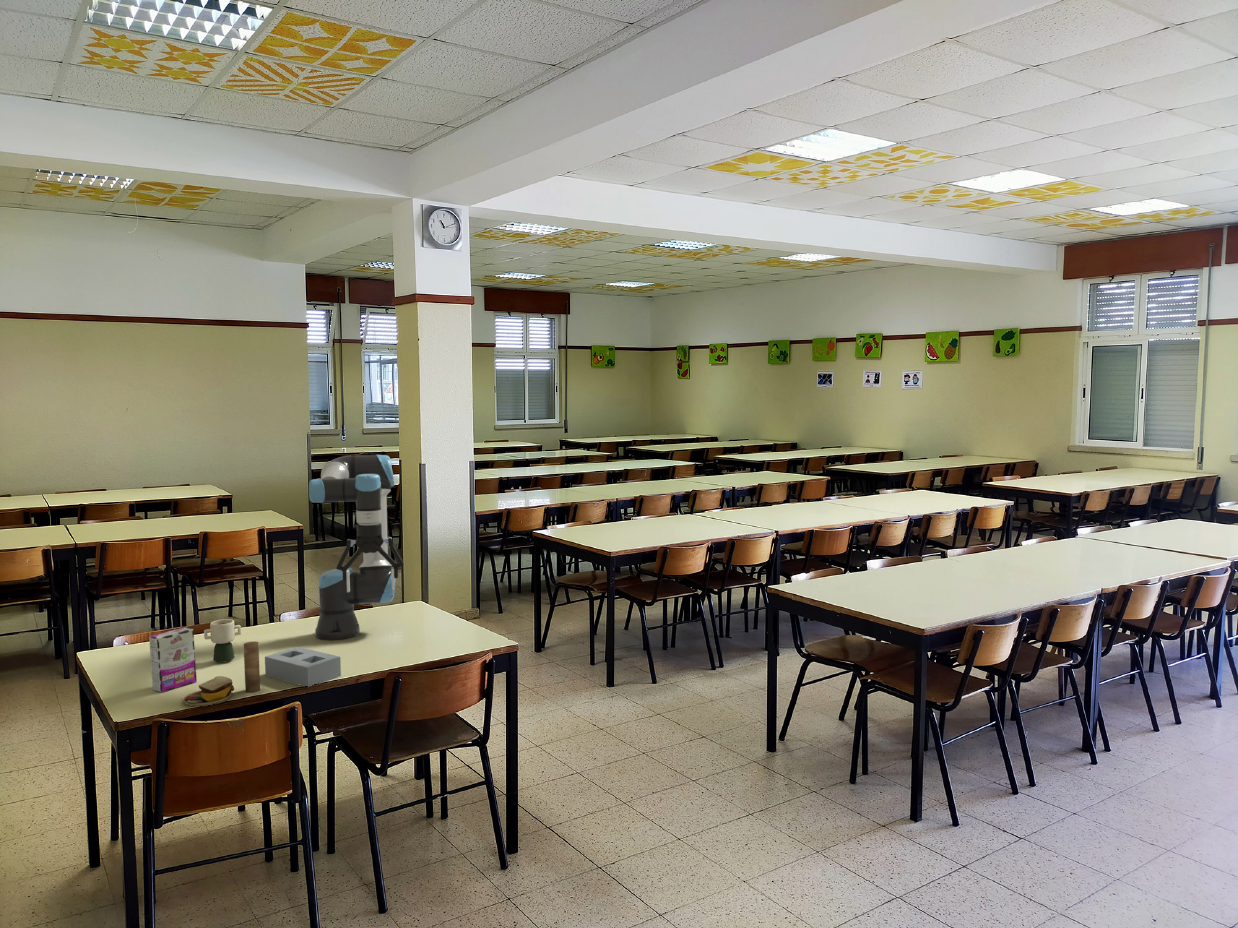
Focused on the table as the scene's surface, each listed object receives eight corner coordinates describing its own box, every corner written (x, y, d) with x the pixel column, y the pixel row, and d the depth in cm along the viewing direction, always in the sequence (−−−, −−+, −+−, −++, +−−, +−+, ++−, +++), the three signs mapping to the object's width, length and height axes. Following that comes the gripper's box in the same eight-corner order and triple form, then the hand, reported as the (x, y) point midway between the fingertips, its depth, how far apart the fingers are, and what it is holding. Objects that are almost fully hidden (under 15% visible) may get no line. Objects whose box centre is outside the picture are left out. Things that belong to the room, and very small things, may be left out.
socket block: (265, 675, 263) (264, 656, 263) (298, 664, 273) (297, 646, 273) (308, 687, 253) (307, 667, 252) (340, 675, 263) (340, 656, 262)
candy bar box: (187, 679, 260) (185, 626, 259) (197, 682, 258) (194, 628, 256) (151, 690, 251) (148, 635, 249) (160, 693, 248) (157, 638, 247)
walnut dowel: (242, 690, 250) (240, 644, 249) (254, 686, 253) (252, 640, 252) (251, 693, 248) (249, 646, 247) (263, 689, 251) (261, 642, 250)
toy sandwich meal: (175, 701, 243) (174, 684, 242) (222, 688, 253) (222, 672, 252) (195, 711, 235) (194, 694, 234) (243, 698, 245) (242, 681, 244)
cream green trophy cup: (240, 655, 283) (238, 616, 282) (243, 661, 277) (242, 621, 276) (204, 660, 278) (202, 621, 276) (206, 666, 272) (205, 626, 270)
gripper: (326, 526, 262) (328, 595, 264) (410, 523, 268) (411, 589, 270) (328, 523, 269) (330, 589, 271) (409, 519, 276) (411, 584, 277)
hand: (370, 589), depth 271 cm, fingers open, 13 cm apart
